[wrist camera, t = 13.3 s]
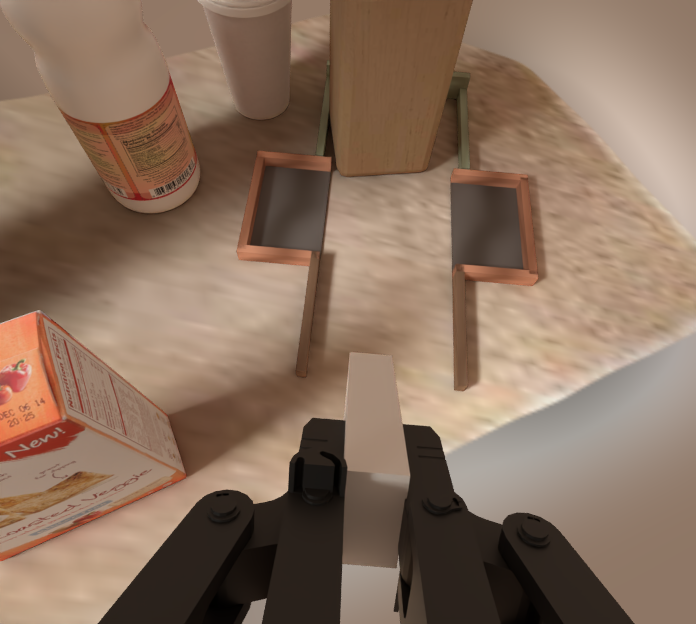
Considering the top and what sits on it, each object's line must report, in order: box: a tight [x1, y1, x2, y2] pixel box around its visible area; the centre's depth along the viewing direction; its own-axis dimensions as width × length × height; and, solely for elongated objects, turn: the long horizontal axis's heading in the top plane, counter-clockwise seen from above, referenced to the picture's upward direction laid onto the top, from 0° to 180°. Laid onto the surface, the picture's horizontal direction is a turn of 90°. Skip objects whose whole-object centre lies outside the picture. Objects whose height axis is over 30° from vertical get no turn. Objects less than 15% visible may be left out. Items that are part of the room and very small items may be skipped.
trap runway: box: [237, 60, 538, 391], centre depth 49 cm, size 29×37×3 cm
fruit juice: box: [0, 0, 200, 213], centre depth 38 cm, size 9×9×28 cm
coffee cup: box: [198, 0, 292, 120], centre depth 50 cm, size 10×10×15 cm
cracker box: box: [0, 310, 186, 561], centre depth 29 cm, size 14×6×21 cm, turn 115°
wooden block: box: [329, 0, 473, 177], centre depth 46 cm, size 10×10×20 cm
